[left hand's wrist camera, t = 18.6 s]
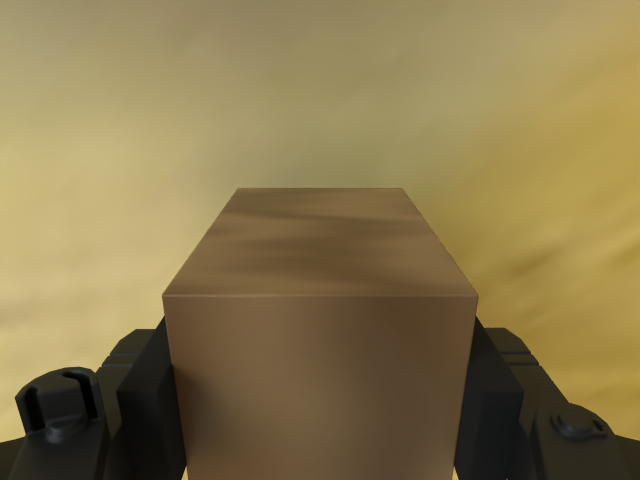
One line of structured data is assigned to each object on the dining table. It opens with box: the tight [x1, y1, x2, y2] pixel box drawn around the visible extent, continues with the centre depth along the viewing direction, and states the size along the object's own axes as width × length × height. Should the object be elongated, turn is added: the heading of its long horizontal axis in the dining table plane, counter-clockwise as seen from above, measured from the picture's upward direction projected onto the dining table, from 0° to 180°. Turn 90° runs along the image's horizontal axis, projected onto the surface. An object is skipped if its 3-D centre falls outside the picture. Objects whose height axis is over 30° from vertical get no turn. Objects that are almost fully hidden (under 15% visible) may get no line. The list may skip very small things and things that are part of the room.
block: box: [162, 188, 478, 480], centre depth 13 cm, size 6×6×8 cm
